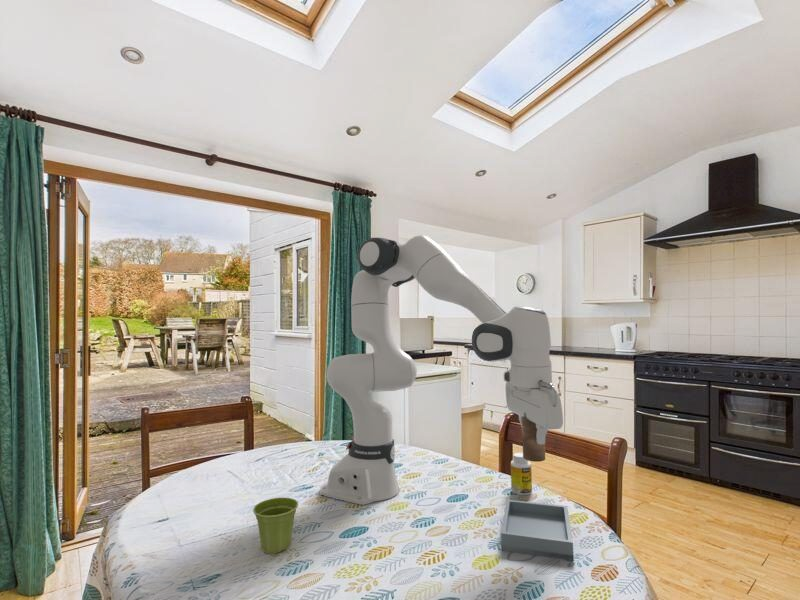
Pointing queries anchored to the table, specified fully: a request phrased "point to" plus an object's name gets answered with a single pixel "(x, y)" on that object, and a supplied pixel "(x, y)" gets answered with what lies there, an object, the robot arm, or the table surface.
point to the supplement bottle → (521, 475)
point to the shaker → (531, 442)
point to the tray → (537, 529)
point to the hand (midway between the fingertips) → (533, 439)
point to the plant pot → (275, 523)
